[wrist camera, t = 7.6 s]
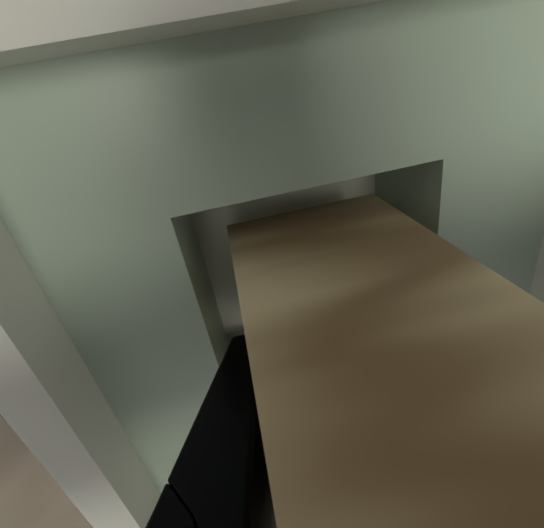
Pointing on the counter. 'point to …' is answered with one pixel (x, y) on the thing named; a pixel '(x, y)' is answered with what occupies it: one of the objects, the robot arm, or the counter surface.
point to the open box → (226, 190)
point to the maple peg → (389, 373)
